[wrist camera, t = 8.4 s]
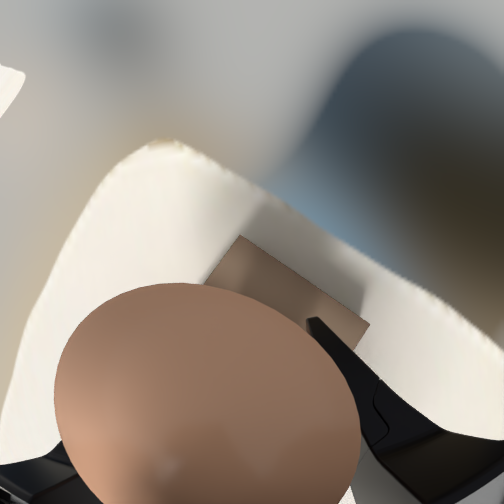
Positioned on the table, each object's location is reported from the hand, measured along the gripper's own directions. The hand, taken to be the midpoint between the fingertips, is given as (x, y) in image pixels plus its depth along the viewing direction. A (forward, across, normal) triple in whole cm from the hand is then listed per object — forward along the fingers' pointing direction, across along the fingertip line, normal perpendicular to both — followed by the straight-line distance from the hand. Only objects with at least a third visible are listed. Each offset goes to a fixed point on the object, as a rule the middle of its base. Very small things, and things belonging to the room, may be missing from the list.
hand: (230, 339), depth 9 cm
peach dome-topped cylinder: (+4, 0, +6) cm, 7 cm away
